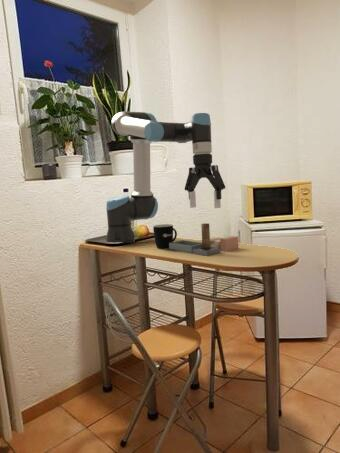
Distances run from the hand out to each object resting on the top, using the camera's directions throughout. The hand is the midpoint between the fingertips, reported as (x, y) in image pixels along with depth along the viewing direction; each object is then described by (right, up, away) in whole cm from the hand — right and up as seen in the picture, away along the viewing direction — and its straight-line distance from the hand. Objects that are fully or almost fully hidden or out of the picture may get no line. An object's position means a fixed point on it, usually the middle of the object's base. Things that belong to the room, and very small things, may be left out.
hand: (204, 207), depth 144 cm
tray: (-7, -18, +11) cm, 22 cm away
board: (+6, -17, +13) cm, 22 cm away
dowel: (+1, -18, +3) cm, 19 cm away
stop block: (+11, -17, +7) cm, 22 cm away
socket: (+1, -18, +3) cm, 19 cm away
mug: (-15, -17, +21) cm, 31 cm away
